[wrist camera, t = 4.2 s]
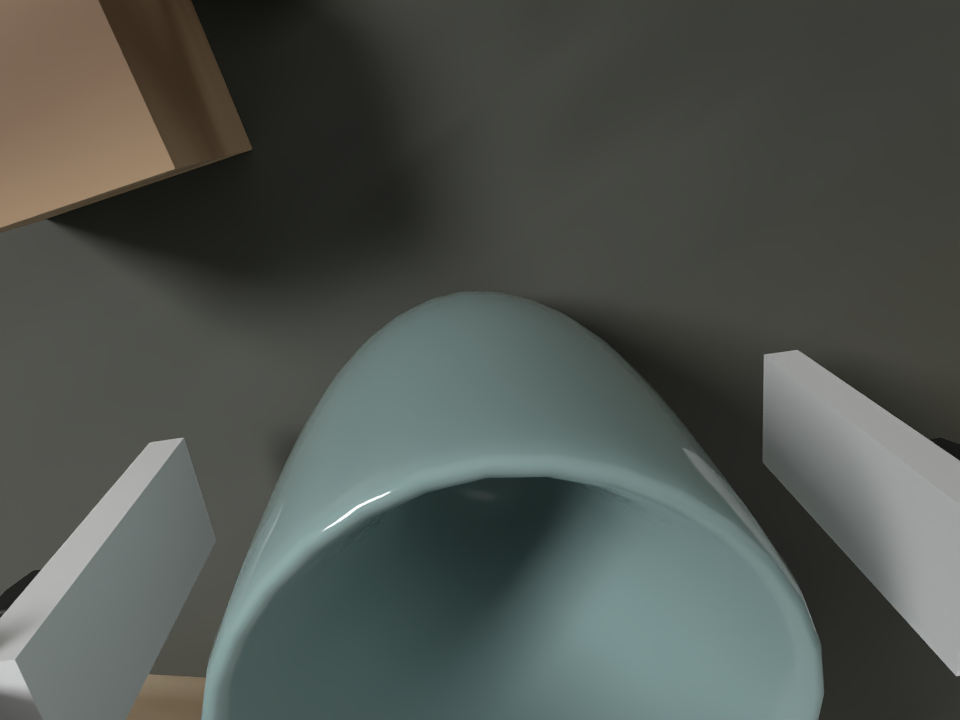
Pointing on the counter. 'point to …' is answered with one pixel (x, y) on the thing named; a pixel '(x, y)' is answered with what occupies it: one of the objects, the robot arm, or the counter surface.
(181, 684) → the oak cube
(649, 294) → the counter surface
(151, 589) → the robot arm
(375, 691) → the cup
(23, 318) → the counter surface
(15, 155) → the walnut cube
